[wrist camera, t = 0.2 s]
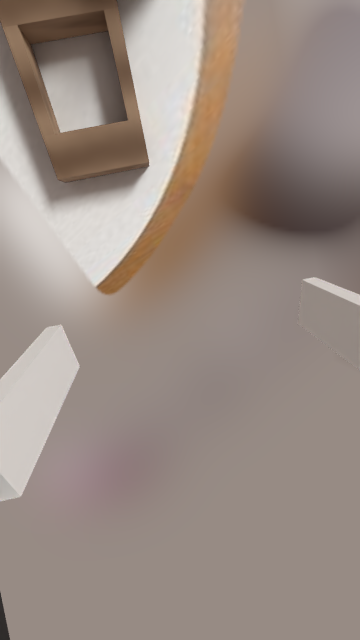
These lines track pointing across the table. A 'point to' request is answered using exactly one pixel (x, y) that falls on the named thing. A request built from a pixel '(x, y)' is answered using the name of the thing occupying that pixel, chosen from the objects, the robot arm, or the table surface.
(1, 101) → the table surface
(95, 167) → the brown picture frame
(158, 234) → the table surface
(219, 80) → the table surface
